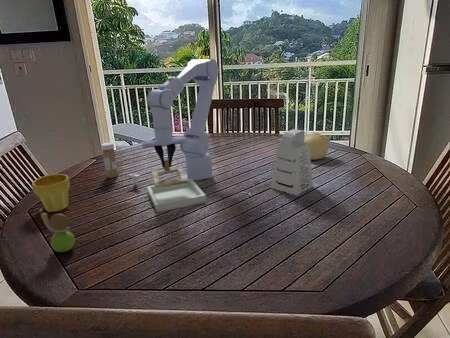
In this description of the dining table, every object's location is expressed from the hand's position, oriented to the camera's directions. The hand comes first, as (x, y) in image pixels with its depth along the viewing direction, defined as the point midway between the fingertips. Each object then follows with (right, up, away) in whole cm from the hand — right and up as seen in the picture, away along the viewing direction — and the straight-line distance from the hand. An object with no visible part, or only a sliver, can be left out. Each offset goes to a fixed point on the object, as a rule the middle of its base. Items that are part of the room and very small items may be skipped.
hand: (166, 166), depth 114 cm
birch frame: (+1, -4, -3) cm, 5 cm away
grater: (+43, -8, +3) cm, 44 cm away
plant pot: (-35, -14, -5) cm, 38 cm away
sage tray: (+3, -11, -2) cm, 11 cm away
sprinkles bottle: (-25, -4, +19) cm, 32 cm away
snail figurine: (-21, -22, -29) cm, 42 cm away
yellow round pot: (+59, +4, +32) cm, 67 cm away
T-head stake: (-13, -7, +9) cm, 17 cm away
